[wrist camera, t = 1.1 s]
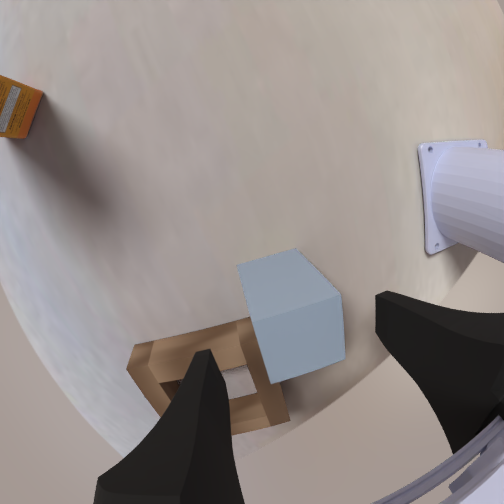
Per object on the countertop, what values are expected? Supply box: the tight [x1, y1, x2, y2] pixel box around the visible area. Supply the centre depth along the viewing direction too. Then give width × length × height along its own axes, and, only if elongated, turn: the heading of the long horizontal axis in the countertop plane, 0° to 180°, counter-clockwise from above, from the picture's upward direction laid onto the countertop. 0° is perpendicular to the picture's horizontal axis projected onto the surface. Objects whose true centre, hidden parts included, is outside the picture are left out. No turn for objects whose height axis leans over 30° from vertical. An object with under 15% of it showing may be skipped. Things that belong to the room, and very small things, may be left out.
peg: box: [237, 248, 345, 384], centre depth 13 cm, size 4×4×6 cm
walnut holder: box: [127, 317, 290, 435], centre depth 16 cm, size 8×8×2 cm
